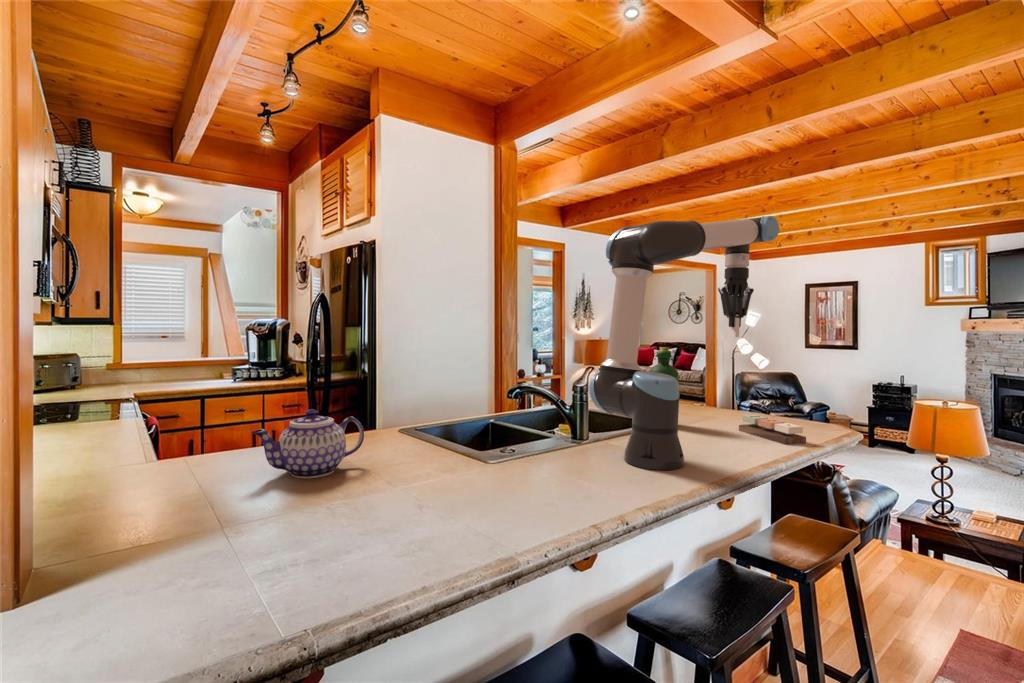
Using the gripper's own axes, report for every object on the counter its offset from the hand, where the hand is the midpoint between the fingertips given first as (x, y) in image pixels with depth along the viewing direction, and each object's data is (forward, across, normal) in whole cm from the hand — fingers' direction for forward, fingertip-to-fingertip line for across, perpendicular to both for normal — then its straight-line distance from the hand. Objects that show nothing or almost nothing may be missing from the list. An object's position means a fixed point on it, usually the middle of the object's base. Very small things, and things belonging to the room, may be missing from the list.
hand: (734, 336), depth 171 cm
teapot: (+33, -133, -17) cm, 138 cm away
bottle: (+33, -18, +14) cm, 40 cm away
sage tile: (+31, +7, -3) cm, 32 cm away
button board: (+32, +7, -10) cm, 35 cm away
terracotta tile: (+31, +7, -10) cm, 34 cm away
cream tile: (+31, +7, -17) cm, 36 cm away
